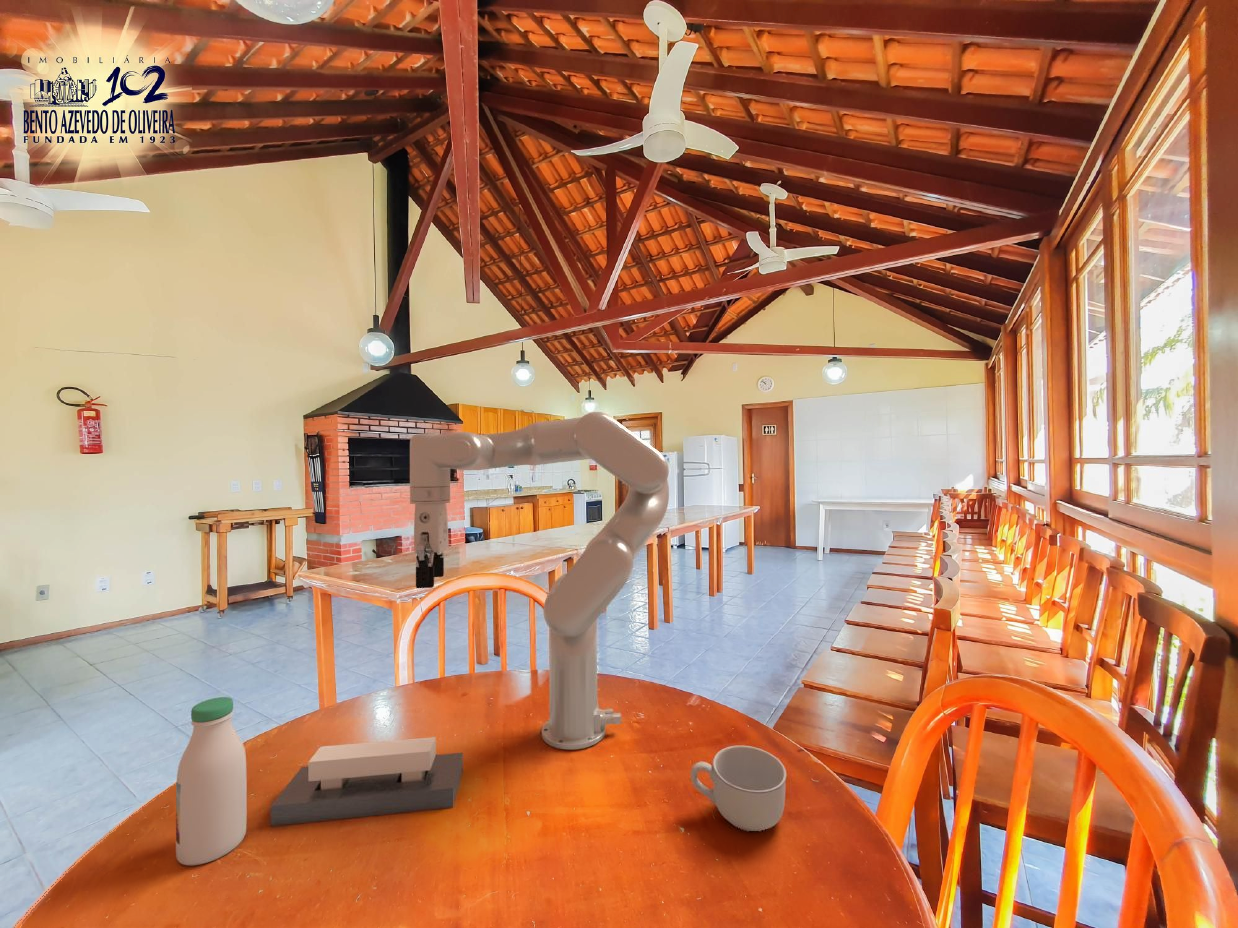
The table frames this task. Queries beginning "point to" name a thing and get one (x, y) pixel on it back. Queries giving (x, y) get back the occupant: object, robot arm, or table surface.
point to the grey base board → (368, 794)
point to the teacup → (745, 786)
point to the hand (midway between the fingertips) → (430, 581)
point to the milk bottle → (211, 786)
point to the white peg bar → (372, 761)
